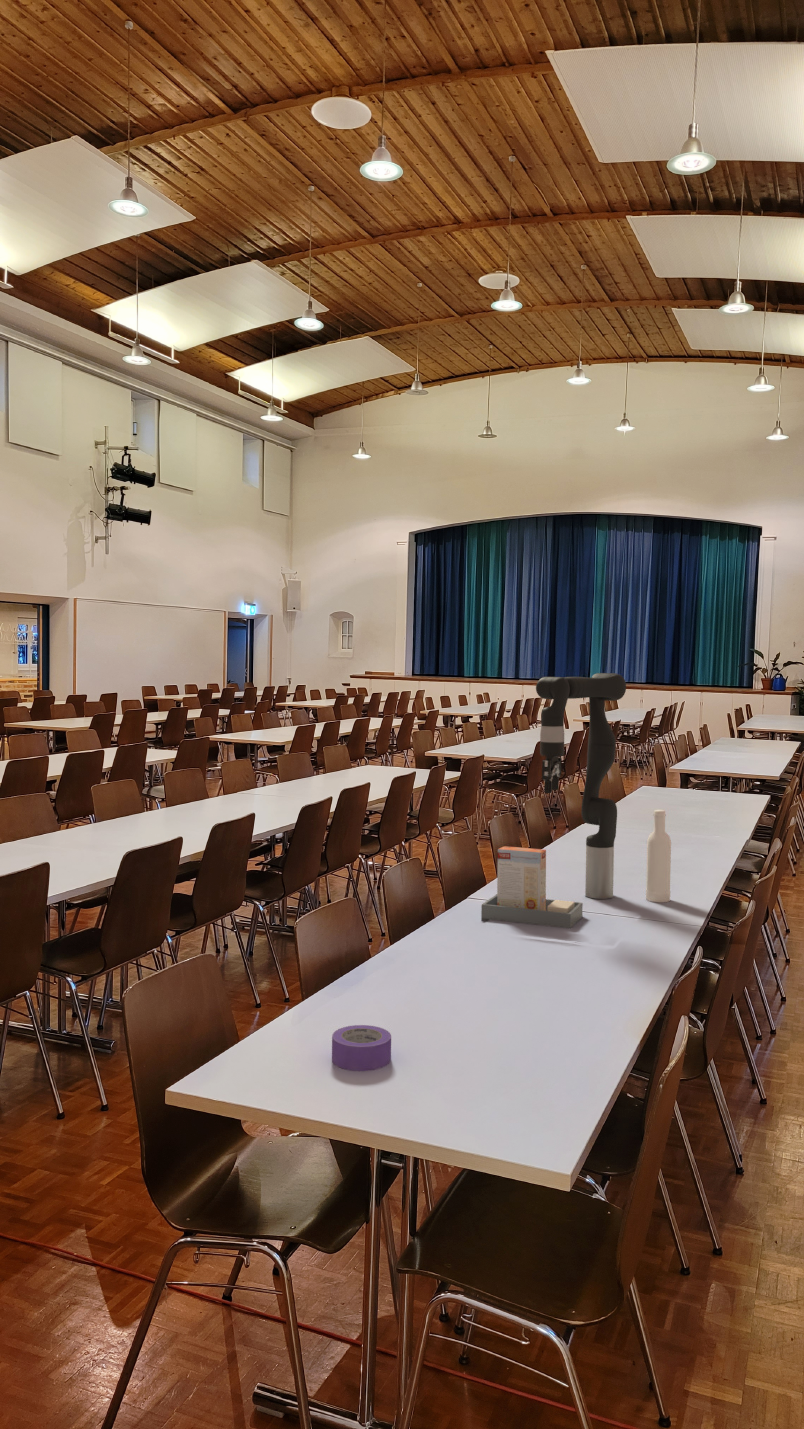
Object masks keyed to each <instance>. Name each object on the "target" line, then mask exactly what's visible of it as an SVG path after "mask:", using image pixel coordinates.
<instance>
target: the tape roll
mask: <svg viewBox="0 0 804 1429" xmlns="http://www.w3.org/2000/svg"><path fill="white" fill-rule="evenodd" d="M391 1034H392V1033H391V1032H390V1031H389V1030H388V1029H385V1028H383V1027H379V1026H375V1025H370V1024H369V1025H365V1024H358V1025H357V1024H355V1025H348V1026H343V1027H341V1028H338V1029H336V1030H334V1031H333V1032H332V1036H331V1039H332V1040H331V1062H332V1063H333V1064H334V1065H335V1066H336V1067H338V1068H341V1069H343V1070H347V1071H352V1072H353V1071H354V1072H368V1071H375V1070H378V1069H383V1068H384V1067H386V1066H388V1065H389V1064H390V1062H391V1061H392V1035H391Z"/></svg>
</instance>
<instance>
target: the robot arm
mask: <svg viewBox="0 0 804 1429" xmlns="http://www.w3.org/2000/svg"><path fill="white" fill-rule="evenodd" d="M626 690H627V682H626V680H625V678H624V677H623V676H622V675H621V674H619V673H611V672H610V673H607V672H606V673H605V672H603V673H602V672H597V673H594V674H593V675H592V676H591V677H584V676H565V677H562V676H561V677H560V676H543V677H541V678H540V679H539V680H538V681H537V682H536V685H535V691H536V694H537V695H538V697H540V698H542V699H544V700H552V703H551V705H550V706H546V707H543V708H542V709H541V713H540V714H541V715H540V716H541V718H540V719H541V722H540V726H541V727H540V734H539V735H540V736H539V737H540V738H539V739H540V740H539V741H540V743H539V754H540V756H542V757H545V760H542V762H541V763H542V766H541V768H542V769H541V780H543V781H544V782H543V784H544V785H543V786H544V787H543V788H544V790H543V792H544V794H552V793H553V792H552V791H559V788H560V784H559V783H560V780H559V779H560V777H561V776H562V757H563V756H564V755H565V726H564V724H565V717H564V716H565V711H566V707H567V703H568V700H569V699H570V700H571V699H574V700H575V699H576V700H577V699H586V698H587V699H588V698H589V699H588V701H589V702H588V705H589V727H588V729H589V730H588V740H587V752H586V753H587V754H586V755H587V756H586V770H585V771H586V773H585V774H586V775H585V782H584V783H585V784H584V789H583V794H582V801H581V811H580V812H581V818H582V820H583V822H584V823H585V824H588V825H593V826H598V832H596V833H593V834H591V835H588V836H587V837H586V838H585V839H586V840H585V891H584V893H585V897H587V898H591V899H597V900H606V899H612V898H614V875H615V873H614V872H615V870H614V869H615V865H614V863H615V840H616V837H617V836H616V834H617V824H618V823H617V822H618V807H617V803H616V802H615V800H613V799H610V798H604V797H603V798H601V797H600V788H601V786H602V782H603V780H604V778H605V776H606V775H607V774H608V772H609V770H610V769H611V767H612V766H613V764H614V762H615V758H616V747H617V746H616V745H617V744H616V743H617V741H616V740H617V739H616V736H615V734H614V732H613V728H612V727H611V725H610V724H609V721H608V719H607V716H606V711H605V710H606V709H605V708H606V706H605V704H606V703H605V702H606V701H611V702H614V701H619V700H621V699H622V698H623V697H624V696H625V693H626Z"/></svg>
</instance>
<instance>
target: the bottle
mask: <svg viewBox="0 0 804 1429" xmlns="http://www.w3.org/2000/svg"><path fill="white" fill-rule="evenodd" d="M666 816H667V815H666V810H664V809H654V811H653V831H652V832H650V833H649V834H648V838H647V840H646V845H647V846H646V874H645V875H646V879H645V880H646V882H645V883H646V884H645V885H646V886H645V888H646V889H645V900H647V901H648V902H652V903H659V904H660V903H668V902H670V901H671V868H672V867H671V862H672V860H671V858H672V857H671V855H672V841H671V837H670V835H669V834H668V833H667V832H666Z"/></svg>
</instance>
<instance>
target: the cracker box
mask: <svg viewBox="0 0 804 1429" xmlns="http://www.w3.org/2000/svg"><path fill="white" fill-rule="evenodd" d="M496 874H497V876H496V877H497V881H496V882H497V887H496V888H497V890H496V891H497V892H496V893H497V906H506V907H516V908H525V909H534V910H544V911H546V899H547V897H546V896H547V892H546V891H547V889H546V888H547V849H544V848H543V849H541V848H530V847H519V846H518V847H517V846H506V845H504V846H502V847H499V848H498V849H497V873H496Z"/></svg>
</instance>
